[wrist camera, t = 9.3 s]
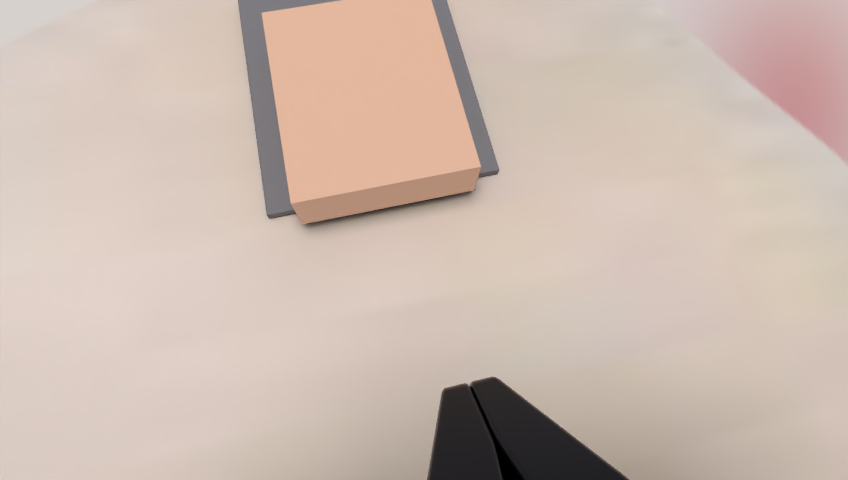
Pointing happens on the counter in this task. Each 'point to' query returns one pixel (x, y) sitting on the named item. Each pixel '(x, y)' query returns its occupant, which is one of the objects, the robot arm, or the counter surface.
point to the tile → (366, 107)
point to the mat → (264, 107)
